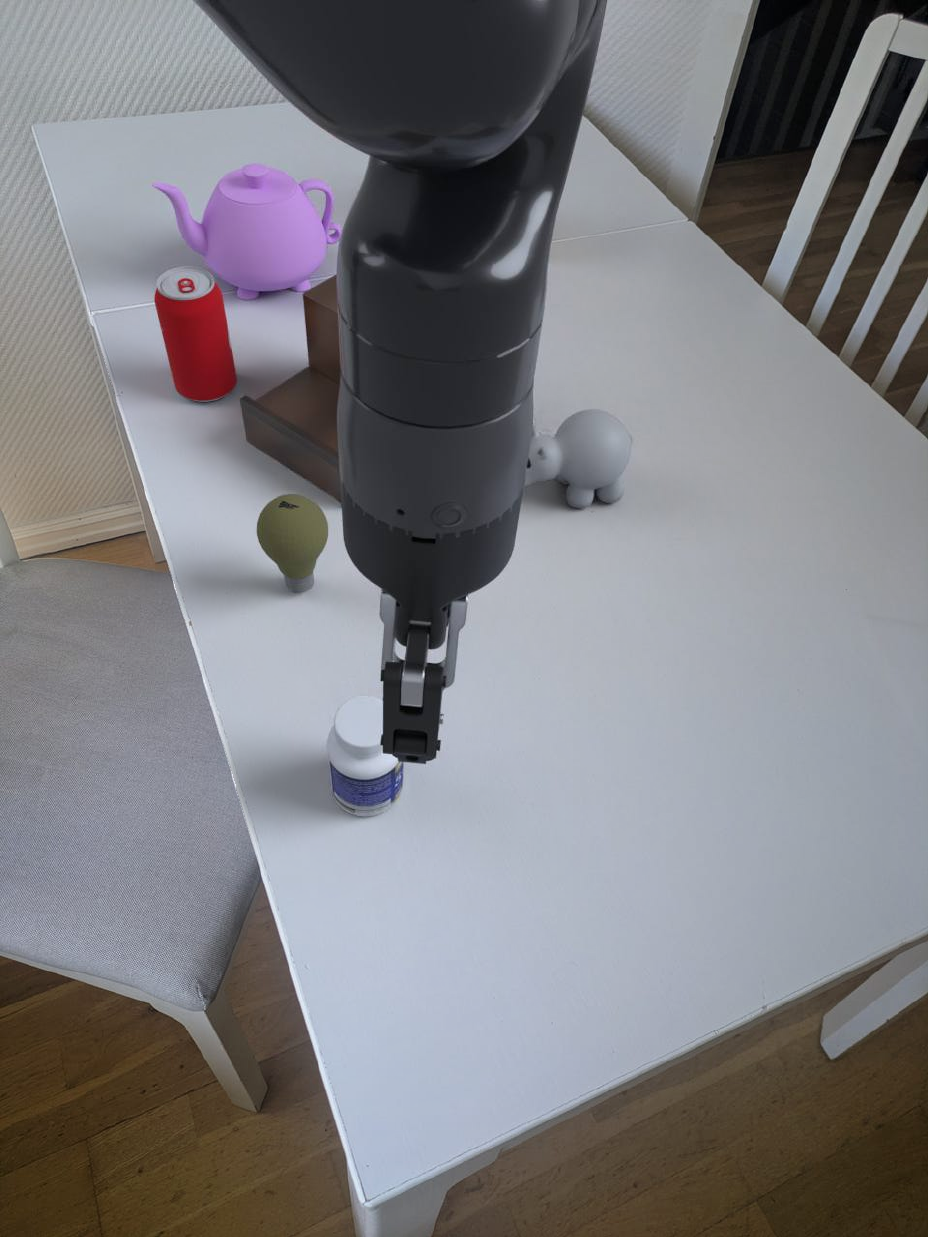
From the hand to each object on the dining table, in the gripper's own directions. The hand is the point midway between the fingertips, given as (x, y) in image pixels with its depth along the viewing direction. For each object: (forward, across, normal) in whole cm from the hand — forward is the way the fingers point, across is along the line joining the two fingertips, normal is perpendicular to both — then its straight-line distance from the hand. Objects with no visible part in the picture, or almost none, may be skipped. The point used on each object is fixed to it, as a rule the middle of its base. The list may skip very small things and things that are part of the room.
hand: (421, 685), depth 49 cm
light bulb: (+19, -22, -12) cm, 31 cm away
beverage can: (+19, -47, -26) cm, 57 cm away
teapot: (+19, -68, -25) cm, 75 cm away
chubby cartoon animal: (+19, -36, +10) cm, 42 cm away
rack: (+19, -42, -10) cm, 47 cm away
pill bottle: (+19, -4, -4) cm, 20 cm away
